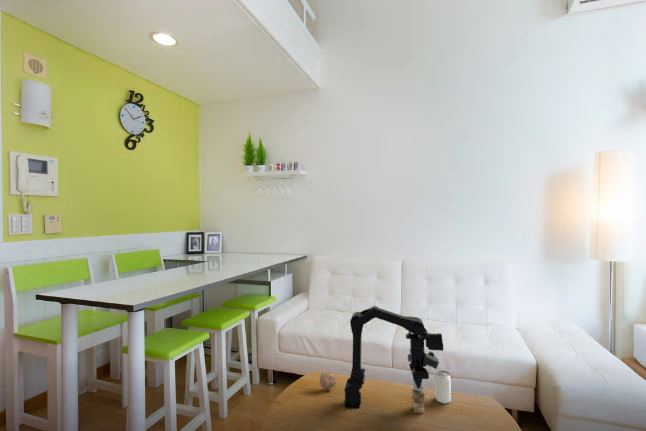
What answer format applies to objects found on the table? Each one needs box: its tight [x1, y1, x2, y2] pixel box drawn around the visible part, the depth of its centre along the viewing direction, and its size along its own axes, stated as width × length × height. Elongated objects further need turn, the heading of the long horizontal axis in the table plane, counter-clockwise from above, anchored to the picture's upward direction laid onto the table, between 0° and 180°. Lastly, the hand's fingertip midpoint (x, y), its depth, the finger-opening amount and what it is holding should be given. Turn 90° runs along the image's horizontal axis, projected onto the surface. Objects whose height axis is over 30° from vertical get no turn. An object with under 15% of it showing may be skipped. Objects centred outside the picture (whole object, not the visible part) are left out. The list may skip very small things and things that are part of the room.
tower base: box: [412, 399, 425, 414], centre depth 144 cm, size 4×4×4 cm
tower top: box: [411, 388, 426, 404], centre depth 144 cm, size 4×4×4 cm
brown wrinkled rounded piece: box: [319, 371, 337, 391], centre depth 162 cm, size 8×6×8 cm
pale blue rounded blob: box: [412, 377, 424, 391], centre depth 144 cm, size 4×4×4 cm
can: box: [434, 369, 452, 405], centre depth 151 cm, size 6×6×12 cm
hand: (417, 385), depth 144 cm, fingers closed on pale blue rounded blob, 4 cm apart
